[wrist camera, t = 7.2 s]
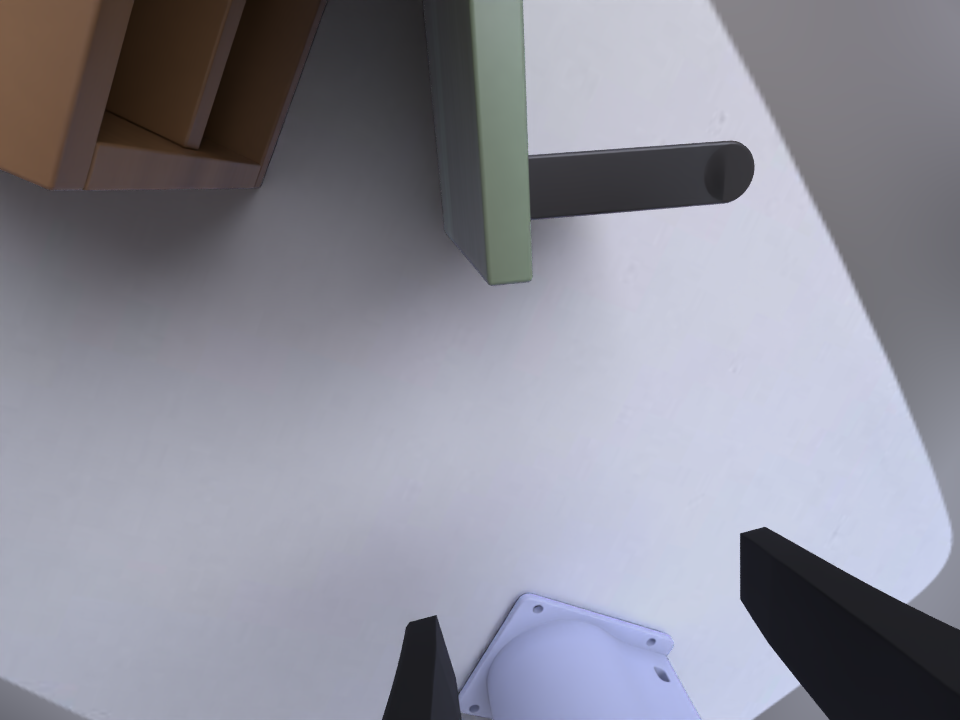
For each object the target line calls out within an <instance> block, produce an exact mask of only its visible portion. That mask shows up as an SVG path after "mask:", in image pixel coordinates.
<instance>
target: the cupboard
mask: <svg viewBox="0 0 960 720" xmlns="http://www.w3.org/2000/svg"><path fill="white" fill-rule="evenodd" d="M326 3H327V0H0V170H2V171H5V172H7V173H9V174H12V175H14V176H16V177H19V178H21V179H23V180H26V181H28V182H30V183H33V184H35V185H37V186H40V187H42V188H45V189H47V190H86V191H93V190H170V189H246V188H260V187H261V184H262V181H263V178H264V176H265V173H266V170H267V167H268V164H269V162H270V159H271V156H272V153H273V151H274V148H275V145H276V142H277V139H278V137H279V134H280V131H281V128H282V125H283V123H284V120H285V117H286V114H287V111H288V109H289V106H290V103H291V100H292V98H293V95H294V92H295V89H296V86H297V84H298V81H299V78H300V75H301V72H302V70H303V67H304V64H305V61H306V59H307V56H308V53H309V50H310V47H311V45H312V42H313V39H314V36H315V33H316V31H317V28H318V25H319V22H320V19H321V17H322V14H323V11H324V8H325V6H326Z"/></svg>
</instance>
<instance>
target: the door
mask: <svg viewBox="0 0 960 720" xmlns="http://www.w3.org/2000/svg"><path fill="white" fill-rule="evenodd" d="M423 8H424V18H425V29H426V40H427V50H428V61H429V72H430V82H431V93H432V103H433V114H434V125H435V135H436V146H437V157H438V167H439V178H440V189H441V199H442V210H443V220H444V231H445V233H446V234H447V235H448V237H449V238H450V239H451V240H452V241H453V243H454V244H455V245H456V246H457V247H458V249H459V250H460V251H461V252H462V253H463V255H464V256H465V257H466V258H467V259H468V261H469V262H470V263H471V264H472V265H473V267H474V268H475V269H476V270H477V271H478V273H479V274H480V275H481V276H482V277H483V279H484V280H485V281H486V282H487V283H488V285H491V286H495V285H505V284H515V283H525V282H529V281H531V280H532V277H533V275H532V246H531V220H539V219H550V218H562V217H574V216H585V215H597V214H608V213H620V212H631V211H643V210H655V209H666V208H678V207H689V206H701V205H713V204H724V203H729V202H731V201H734V200H735V199H737V198H738V197H740V196H741V195H742V194H743V193H744V192H745V191H746V190H747V188H748V187H749V185H750V183H751V181H752V178H753V175H754V160H753V156H752V154H751V152H750V151H749V149H748V148H747V147H746V146H744V145H743V144H741V143H740V142H737V141H720V142H706V143H692V144H678V145H664V146H650V147H636V148H622V149H608V150H594V151H580V152H566V153H552V154H538V155H528V134H527V106H526V78H525V49H524V21H523V0H423Z"/></svg>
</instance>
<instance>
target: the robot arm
mask: <svg viewBox="0 0 960 720" xmlns="http://www.w3.org/2000/svg"><path fill="white" fill-rule="evenodd" d="M740 599H741V601H742V603H743V604H744V606H745V607H746V609H747V611H748V612H749V614H750V615H751V617H752V619H753V620H754V622H755V623H756V625H757V626H758V628H759V629H760V631H761V632H762V634H763V635H764V637H765V639H766V640H767V642H768V643H769V644H770V646H771V647H772V648H773V650H774V651H775V652H776V653H777V655H778V656H779V657H780V658H781V660H782V661H783V662H784V664H785V665H786V666H787V667H788V669H789V670H790V671H791V672H792V674H793V675H794V676H795V677H796V679H797V680H798V681H799V682H800V684H801V685H802V686H803V687H804V689H805V690H806V691H807V692H808V693H809V695H810V696H811V697H812V698H813V699H814V701H815V702H816V703H817V705H818V706H819V707H820V708H821V710H822V711H823V712H824V713H825V715H826V716H827V717H828V718H829V720H960V630H959V629H956V628H954V627H952V626H950V625H948V624H946V623H944V622H942V621H939V620H937V619H935V618H933V617H931V616H929V615H927V614H925V613H923V612H921V611H919V610H917V609H915V608H913V607H911V606H909V605H907V604H905V603H903V602H901V601H899V600H897V599H895V598H893V597H891V596H889V595H887V594H886V593H884V592H882V591H880V590H878V589H876V588H874V587H872V586H870V585H868V584H867V583H865V582H863V581H861V580H859V579H857V578H856V577H854V576H852V575H850V574H848V573H846V572H845V571H843V570H841V569H839V568H837V567H836V566H834V565H832V564H830V563H828V562H827V561H825V560H823V559H821V558H820V557H818V556H816V555H814V554H812V553H811V552H809V551H807V550H805V549H804V548H802V547H800V546H798V545H797V544H795V543H793V542H791V541H790V540H788V539H786V538H784V537H782V536H781V535H779V534H777V533H775V532H773V531H772V530H770V529H768V528H766V527H763V528H759V529H755V530H752V531H748V532H744V533H740ZM537 605H539V606H538V607H535V606H537ZM673 646H674V641H673V640H672V638H671V636H670V635H668V634H665V633H662V632H659V631H655V630H652V629H649V628H645V627H642V626H639V625H635V624H632V623H629V622H625V621H622V620H619V619H615V618H612V617H609V616H605V615H602V614H599V613H595V612H592V611H589V610H585V609H582V608H579V607H575V606H572V605H569V604H565V603H562V602H559V601H555V600H552V599H549V598H545V597H542V596H539V595H535V594H531V593H527V594H524V595H522V596H521V597H520V598H519V599H518V601H517V602H516V604H515V605H514V607H513V609H512V610H511V612H510V613H509V615H508V617H507V618H506V620H505V621H504V623H503V625H502V626H501V628H500V630H499V631H498V633H497V634H496V636H495V638H494V639H493V641H492V642H491V644H490V646H489V647H488V649H487V650H486V652H485V654H484V655H483V657H482V658H481V660H480V662H479V663H478V665H477V667H476V668H475V670H474V671H473V673H472V675H471V676H470V678H469V679H468V681H467V683H466V684H465V686H464V687H463V689H462V691H461V692H460V694H459V695H458V690H457V683H456V677H455V674H454V671H453V667H452V664H451V661H450V658H449V654H448V651H447V648H446V645H445V641H444V638H443V635H442V632H441V628H440V625H439V622H438V619H437V615H435V616H431V617H427V618H424V619H420V620H416V621H413V622H410V623H409V624H408V625H407V627H406V630H405V635H404V640H403V645H402V650H401V654H400V658H399V662H398V666H397V670H396V674H395V678H394V681H393V685H392V689H391V692H390V695H389V699H388V702H387V705H386V709H385V712H384V715H383V718H382V720H461V712H462V713H466V714H470V715H475V716H480V717H484V718H489V719H492V720H702V719H701V718H700V716H699V714H698V712H697V710H696V709H695V707H694V705H693V703H692V701H691V699H690V698H689V696H688V694H687V692H686V690H685V689H684V687H683V685H682V683H681V681H680V680H679V678H678V676H677V674H676V672H675V671H674V669H673V667H672V665H671V663H670V662H669V660H668V658H667V655H668V654H669V652H670V651H671V650H672V648H673Z"/></svg>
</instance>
